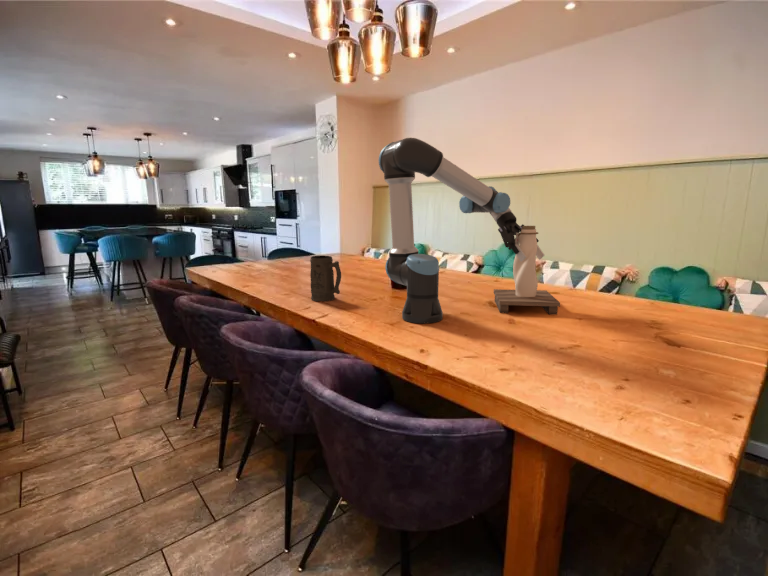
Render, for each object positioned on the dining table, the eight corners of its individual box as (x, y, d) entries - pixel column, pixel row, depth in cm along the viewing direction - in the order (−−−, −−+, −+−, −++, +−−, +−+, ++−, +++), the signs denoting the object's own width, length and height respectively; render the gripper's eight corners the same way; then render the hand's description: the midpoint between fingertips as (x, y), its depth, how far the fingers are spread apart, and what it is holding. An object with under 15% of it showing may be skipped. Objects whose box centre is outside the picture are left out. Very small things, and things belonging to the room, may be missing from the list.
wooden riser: (559, 315, 147) (560, 302, 146) (499, 313, 150) (499, 301, 149) (545, 301, 168) (546, 290, 167) (493, 300, 172) (493, 289, 170)
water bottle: (509, 296, 156) (512, 226, 151) (511, 292, 164) (514, 225, 159) (536, 298, 152) (540, 226, 147) (537, 293, 160) (541, 225, 155)
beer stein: (305, 300, 175) (305, 256, 170) (316, 295, 185) (316, 253, 180) (336, 305, 170) (338, 260, 166) (346, 299, 180) (347, 257, 176)
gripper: (517, 222, 171) (545, 262, 161) (479, 224, 159) (507, 266, 149) (527, 210, 165) (557, 250, 155) (489, 211, 154) (519, 254, 144)
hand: (533, 258), depth 152 cm, fingers open, 10 cm apart
